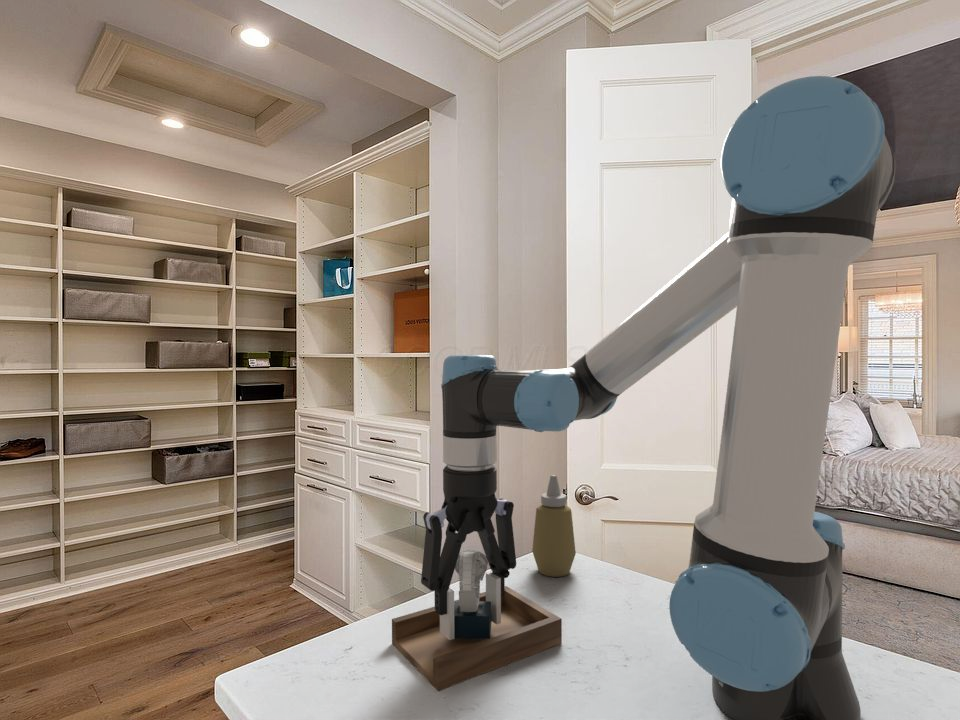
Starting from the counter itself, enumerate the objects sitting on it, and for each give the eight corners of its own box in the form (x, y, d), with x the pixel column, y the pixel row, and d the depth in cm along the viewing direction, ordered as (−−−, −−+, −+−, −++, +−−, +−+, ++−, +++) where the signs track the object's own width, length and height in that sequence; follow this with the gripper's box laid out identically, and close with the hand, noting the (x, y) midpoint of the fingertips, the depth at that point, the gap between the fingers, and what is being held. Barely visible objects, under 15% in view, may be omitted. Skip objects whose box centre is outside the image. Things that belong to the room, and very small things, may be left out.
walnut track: (561, 643, 80) (561, 618, 80) (437, 691, 69) (437, 662, 69) (506, 607, 91) (505, 585, 91) (391, 643, 80) (391, 619, 80)
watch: (492, 616, 83) (490, 542, 83) (489, 645, 75) (486, 564, 75) (454, 615, 83) (452, 542, 83) (447, 645, 75) (444, 564, 75)
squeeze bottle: (582, 568, 107) (582, 474, 106) (565, 583, 100) (564, 482, 99) (543, 560, 111) (543, 469, 111) (524, 574, 104) (524, 477, 104)
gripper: (511, 453, 87) (511, 599, 88) (392, 469, 76) (394, 636, 77) (542, 461, 81) (542, 619, 81) (418, 479, 70) (419, 661, 71)
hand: (470, 627), depth 79 cm, fingers closed on watch, 7 cm apart
